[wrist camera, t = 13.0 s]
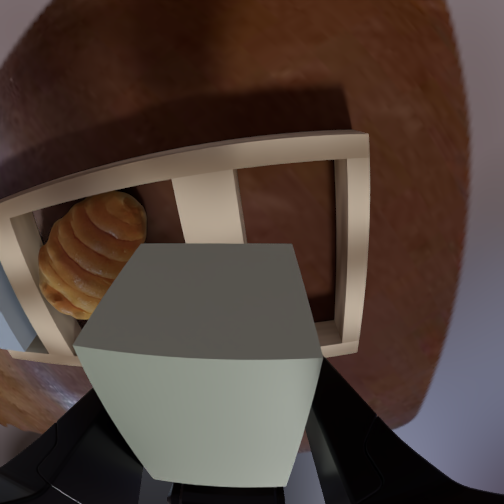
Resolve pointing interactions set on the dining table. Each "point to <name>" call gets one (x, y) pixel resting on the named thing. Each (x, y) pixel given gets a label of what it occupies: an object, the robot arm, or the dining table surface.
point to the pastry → (90, 251)
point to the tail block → (207, 361)
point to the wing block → (13, 319)
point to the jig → (199, 222)
